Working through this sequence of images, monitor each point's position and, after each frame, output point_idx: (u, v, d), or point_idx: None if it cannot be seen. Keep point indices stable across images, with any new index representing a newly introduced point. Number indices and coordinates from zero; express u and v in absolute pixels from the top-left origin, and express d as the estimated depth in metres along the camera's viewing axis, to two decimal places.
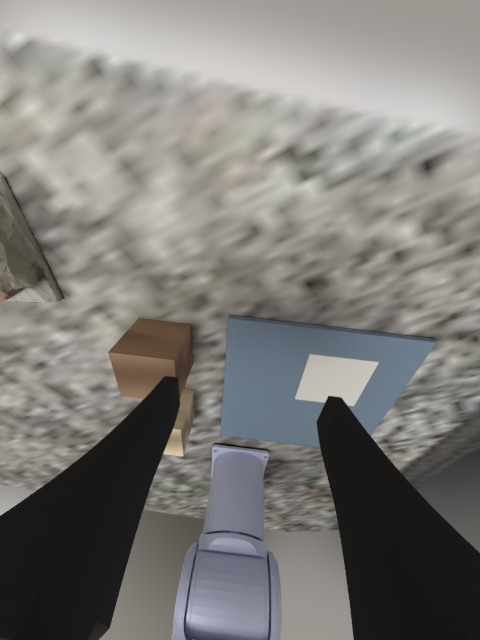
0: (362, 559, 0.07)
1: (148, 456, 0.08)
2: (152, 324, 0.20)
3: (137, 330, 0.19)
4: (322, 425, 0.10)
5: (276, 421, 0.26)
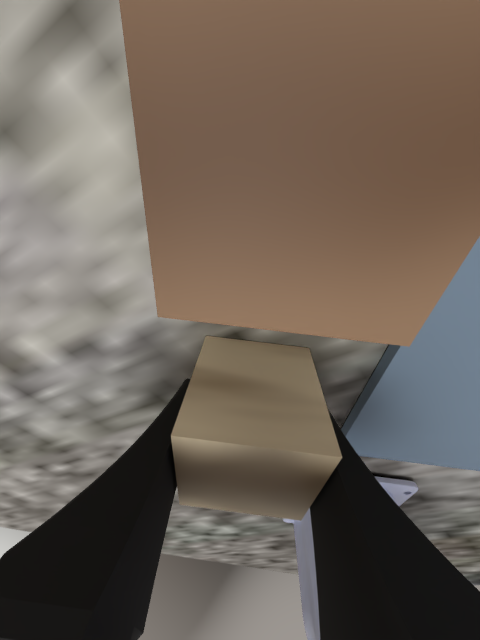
0: (328, 555, 0.07)
1: None
2: None
3: None
4: None
5: None
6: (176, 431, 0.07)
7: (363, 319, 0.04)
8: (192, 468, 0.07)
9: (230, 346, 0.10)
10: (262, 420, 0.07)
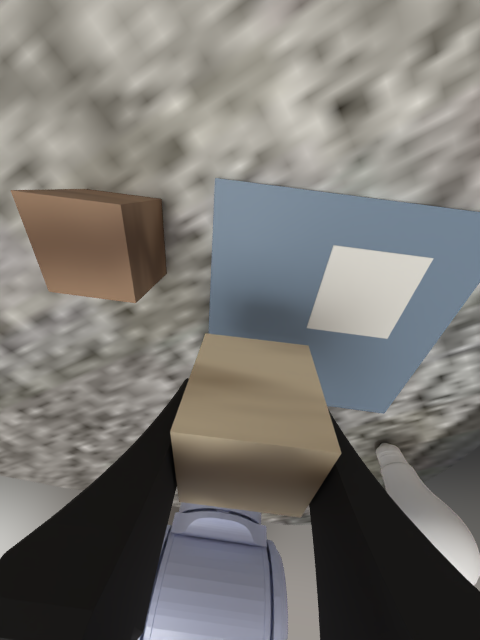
0: (328, 555, 0.07)
1: None
2: (103, 192, 0.13)
3: (75, 191, 0.13)
4: None
5: None
6: (175, 427, 0.07)
7: (115, 292, 0.12)
8: (191, 464, 0.07)
9: (229, 343, 0.10)
10: (261, 416, 0.07)
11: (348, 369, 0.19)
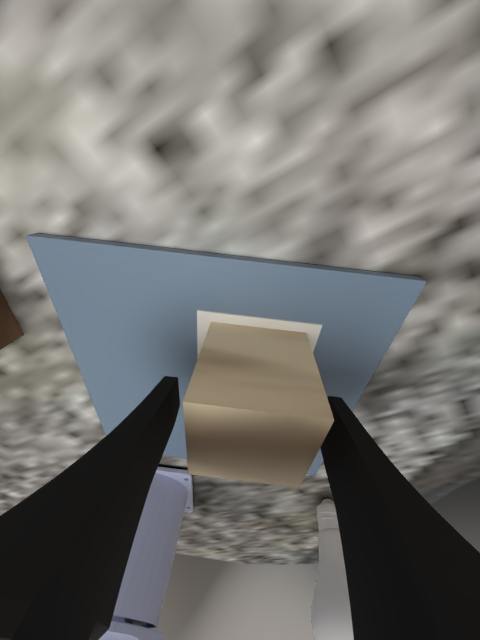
0: (362, 559, 0.07)
1: (148, 456, 0.08)
2: None
3: None
4: None
5: (183, 430, 0.17)
6: (186, 398, 0.07)
7: None
8: (200, 434, 0.08)
9: (233, 330, 0.11)
10: (263, 390, 0.08)
11: None
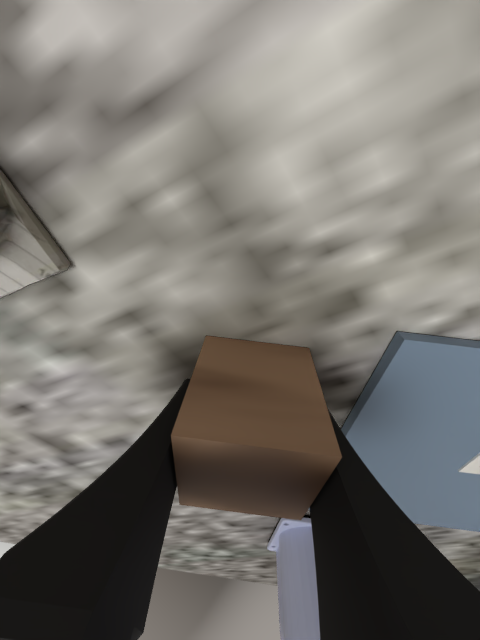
0: (328, 555, 0.07)
1: None
2: (239, 351, 0.10)
3: (215, 365, 0.09)
4: None
5: (404, 497, 0.16)
6: None
7: (276, 512, 0.09)
8: None
9: None
10: None
11: None
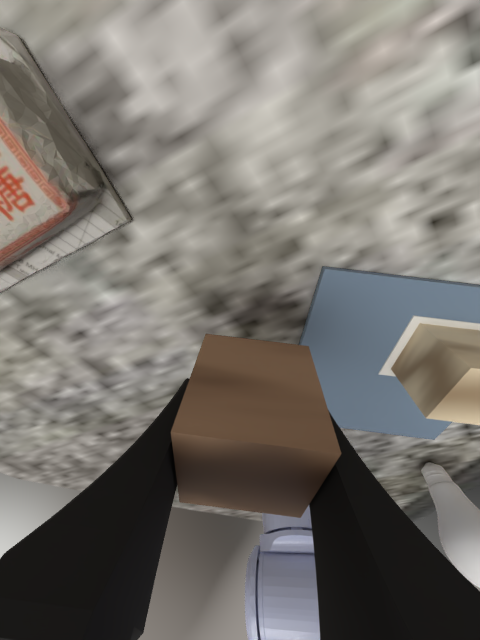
0: (328, 555, 0.07)
1: None
2: (238, 349, 0.10)
3: (214, 363, 0.09)
4: None
5: (348, 403, 0.23)
6: (470, 366, 0.13)
7: (276, 509, 0.09)
8: (462, 388, 0.14)
9: (440, 329, 0.17)
10: None
11: (408, 405, 0.23)
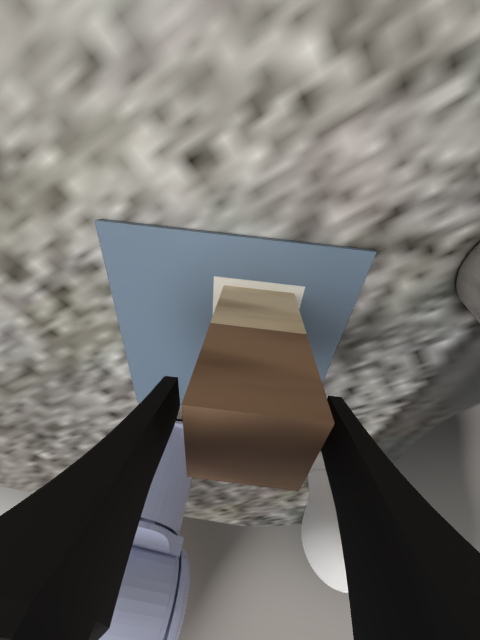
0: (362, 559, 0.07)
1: (148, 456, 0.08)
2: (241, 336, 0.11)
3: (219, 348, 0.10)
4: None
5: None
6: (212, 321, 0.12)
7: (276, 483, 0.10)
8: None
9: (240, 290, 0.15)
10: (262, 320, 0.12)
11: None
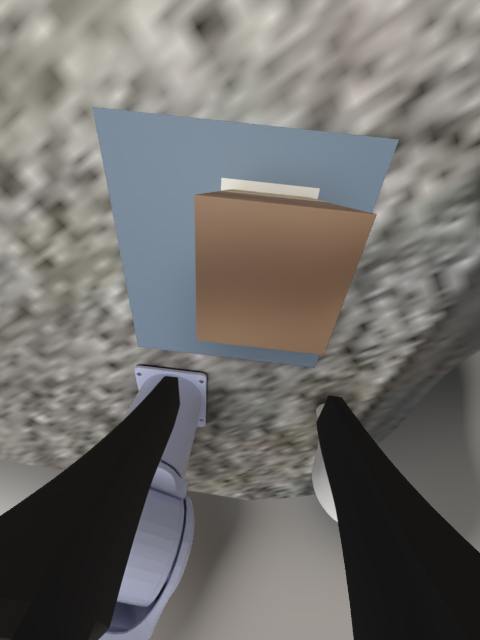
0: (362, 559, 0.07)
1: (148, 456, 0.08)
2: (256, 195, 0.10)
3: (233, 193, 0.09)
4: (321, 425, 0.10)
5: None
6: (223, 190, 0.10)
7: (298, 342, 0.08)
8: None
9: (250, 191, 0.14)
10: None
11: None
